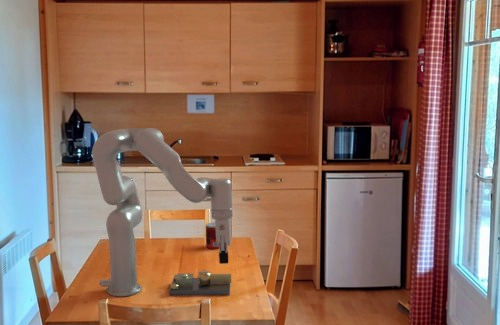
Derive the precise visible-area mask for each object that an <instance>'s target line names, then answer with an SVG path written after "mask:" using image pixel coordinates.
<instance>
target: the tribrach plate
mask: <svg viewBox="0 0 500 325" xmlns="http://www.w3.org/2000/svg"><path fill="white" fill-rule="evenodd" d="M169 287H170V288H169V290H168V291H169V292H168V294H169V296H170V297H172V296H173V297H177V296H183V297H184V296H230V294H231V293H230V292H231V283H210V284H209V285H200V284H199V278H198V277H194V273H177V274H174V275H173V279H172V282H171V284H170V286H169Z"/></svg>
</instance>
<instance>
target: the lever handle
mask: <svg viewBox="0 0 500 325" xmlns="http://www.w3.org/2000/svg"><path fill="white" fill-rule="evenodd" d="M197 274H198V277H197V278H199V284H200V285H209V284H210V283H230V284H231V283H232V273H211V271H210V270H199V271H198V272H197Z"/></svg>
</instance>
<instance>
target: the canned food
mask: <svg viewBox="0 0 500 325" xmlns="http://www.w3.org/2000/svg"><path fill="white" fill-rule="evenodd" d="M205 245H206V248H207V249H209V250H219V247H218V246H217V241H216V228H215V222H209V223H206V224H205Z"/></svg>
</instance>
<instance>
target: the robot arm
mask: <svg viewBox="0 0 500 325" xmlns="http://www.w3.org/2000/svg"><path fill="white" fill-rule="evenodd" d="M164 140H165V138H164V134H163V133H162V132H161V131H160V130H159V129H157V128H155V127H143V128H142V127H141V128H140V127H139V128H134V127H133V128H119V129H116V130H115V129H113V130H111V131H108V132H105V133H103V134H101V135H100V136H99V137H98V138H97V139H96V140H95V142H94V144H93V146H92V148H91V150H92V151H91V152H92V154H91V157H92V161H93V164H94V167H95V171H96V176H97V179H98V184H99V187H100V191H101V195H102V198H103V200H104V202H105V203H106V204H107V205H110V206H116V208H115V209H113V210H112V211H111V212H110V213H109V215H108V216H107V218H106V225H105V226H106V232H107V235H108V246H109V247H108V249H109V250H108V251H109V263H110V264H109V265H110V267H109V268H110V278H108V279H99V285H100V286H101V287H103V288H104V287H107V288H106V293H107V294H109V295H110V296H113V297H129V296H133V295H136V294H138V293H140V292H141V291H142V287H143V286H142V284H140V283H138V272H137V271H138V270H137V249H136V248H137V247H136V246H137V245H136V237H135V234H134V233H135V232H134V228H135V227H137V226H138V225H139V224H140V223H141V221H142V220H143V209H142V205H141V201H140V197H139V192H138V189H137V187H136V184H135V182H134V181H133V179H132V178H131V177H129V176H127V175H123V174H122V169H121V165H120V164H119V161H118V160H117V155H118V154H122V153H125V152H130V151H132V152H134V151H135V152H139V153H141V155H142V156H143V157H145V158H146V159H147V160H148V161H149V162H151V163H152V164H153V165H154V166H155V167H156V168H157V169H158V170H160V172H162V173H163V175H164V177H165V178H166V179H167V181H168V182H169V184H170V185H171V186H172V187H173V189H174V190H175V191H177V193H179V194H180V195H181V196H182V197H184V198H185V199H186V200H188V202H191V203H194V204H197V203H198V204H199V203H201V202H203V201H205V199H207V198H210V208H211V209H210V210H211V219H213V220H214V221H215V222H214V223H215V228H216V241H217V246H218V247H219V249H218V250H219V252H218V259H219V264H221V265H222V264H229V251H228V247H230V246H231V245H232V234H231V233H232V231H231V230H232V229H231V219H232V218H233V213H234V212H233V194H232V192H233V190H232V188H233V186H232V180H230V179H229V178H225V177H224V178H223V177H222V178H221V177H220V178H209V177H198V178H194V177H193V176H192V175H191V174H190V173H189V172H188V171H187V170H186V168H185V167H184V165H183V164H182V161H181V157H180V155H179V153H178V152H177V151H176V150H174V149H173V147H171V146H170V145H169V144H167V143H166V142H165V141H164Z"/></svg>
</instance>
